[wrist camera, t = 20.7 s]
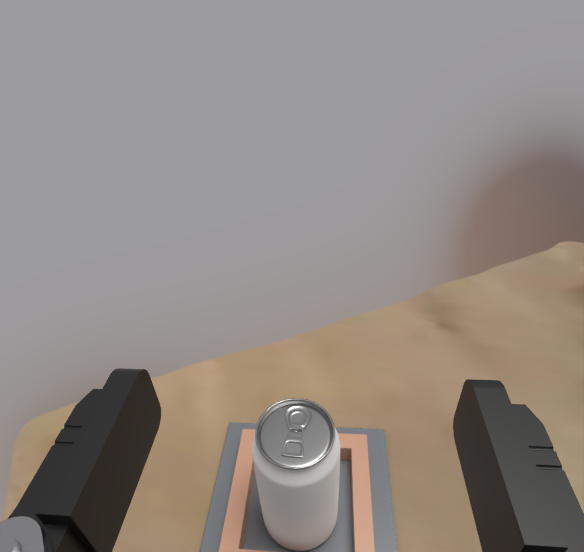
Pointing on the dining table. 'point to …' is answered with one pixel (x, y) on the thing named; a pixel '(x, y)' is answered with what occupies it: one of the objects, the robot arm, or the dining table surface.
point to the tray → (351, 502)
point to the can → (297, 472)
